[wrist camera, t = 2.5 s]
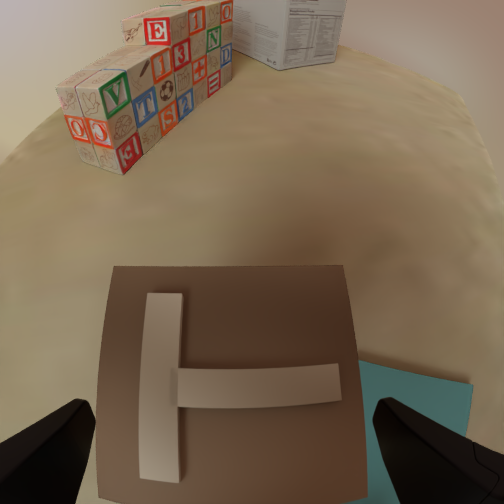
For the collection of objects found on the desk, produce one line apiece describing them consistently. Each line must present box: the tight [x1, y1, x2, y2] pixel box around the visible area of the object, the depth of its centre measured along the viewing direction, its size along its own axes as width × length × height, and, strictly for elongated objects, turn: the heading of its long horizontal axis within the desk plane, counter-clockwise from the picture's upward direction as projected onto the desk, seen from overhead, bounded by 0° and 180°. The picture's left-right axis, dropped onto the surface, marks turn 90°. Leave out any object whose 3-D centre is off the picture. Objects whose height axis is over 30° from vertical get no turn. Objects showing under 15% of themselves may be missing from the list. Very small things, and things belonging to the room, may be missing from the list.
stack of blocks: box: [56, 0, 233, 175], centre depth 25 cm, size 21×6×12 cm, turn 156°
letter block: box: [96, 265, 368, 504], centre depth 10 cm, size 5×5×12 cm
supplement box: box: [232, 0, 347, 70], centre depth 34 cm, size 13×13×18 cm
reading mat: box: [342, 360, 473, 504], centre depth 13 cm, size 10×10×1 cm
